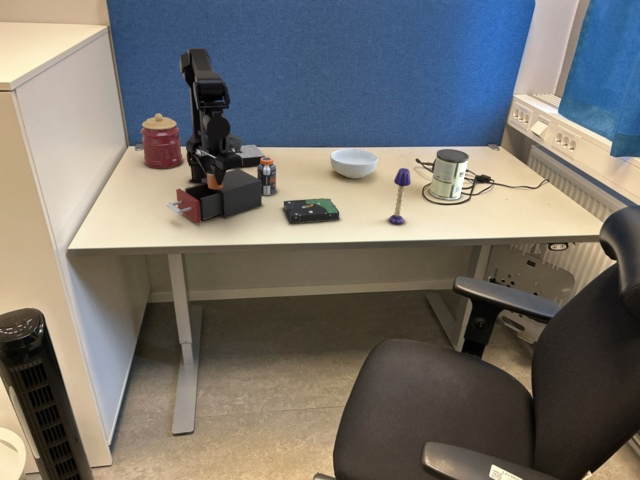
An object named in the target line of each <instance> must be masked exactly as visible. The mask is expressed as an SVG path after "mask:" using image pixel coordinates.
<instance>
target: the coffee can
mask: <svg viewBox="0 0 640 480" xmlns="http://www.w3.org/2000/svg"><path fill="white" fill-rule="evenodd" d="M469 157H470V156H469V154H468V153H466V152H465V151H462V150H459V149H452V148H443V149H438V150H437V151H436V156H435V160H434V161H435V162H434V166H433V173H432V178H431V183H430V189H429V193H430V195H431V196H433V197H435V198H437V199H441V200H446V201H453V200H457V199H459V198H460V197H461V192H462V188H463V183H464V179H465V174H466V170H467V165H468V161H469V159H470V158H469Z"/></svg>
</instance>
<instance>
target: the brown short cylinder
mask: <svg viewBox="0 0 640 480" xmlns="http://www.w3.org/2000/svg"><path fill="white" fill-rule="evenodd" d="M207 182H208V188H210V189H221V188H222V187H223V182H222V185H218V184H217V182H216V179H215V177H214V174H213V171H212V169H211V170H208V171H207Z"/></svg>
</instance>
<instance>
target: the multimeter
mask: <svg viewBox="0 0 640 480" xmlns="http://www.w3.org/2000/svg"><path fill="white" fill-rule="evenodd" d="M229 152H234V153H236V154H238V155H240V156H241V157H242V158H243V165H242V166H240V167H236V168H233V169H232V170H235V169H243V168H252V167H254V168H255V167H258V165H259V164H261V163H260V160H261V158H263V157H266V155H265V154H264V153H263V152H262V151H261V150H260V149H259V148H258V146H257V145H255V144H247V145H242V146H241V149H240V150H237V149H232V148H229V151H223V153H224V154H225V153H229Z"/></svg>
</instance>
